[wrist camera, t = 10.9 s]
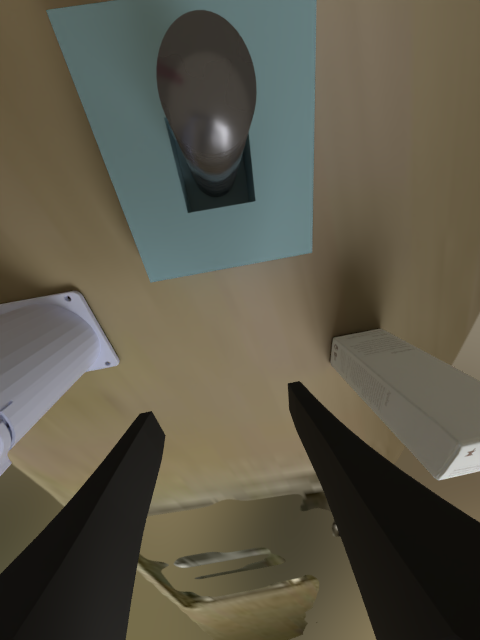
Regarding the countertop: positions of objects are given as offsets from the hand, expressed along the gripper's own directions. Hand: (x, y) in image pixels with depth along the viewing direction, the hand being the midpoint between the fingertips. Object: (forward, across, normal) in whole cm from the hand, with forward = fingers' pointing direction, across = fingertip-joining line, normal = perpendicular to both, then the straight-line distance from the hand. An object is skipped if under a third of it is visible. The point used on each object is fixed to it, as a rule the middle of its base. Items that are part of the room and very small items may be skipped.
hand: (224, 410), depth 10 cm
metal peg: (+9, -2, -12) cm, 16 cm away
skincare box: (+10, -15, +6) cm, 19 cm away
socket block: (+10, -2, -12) cm, 16 cm away
